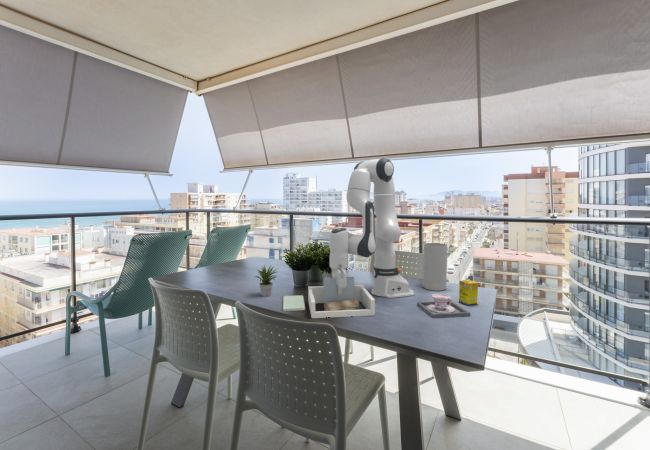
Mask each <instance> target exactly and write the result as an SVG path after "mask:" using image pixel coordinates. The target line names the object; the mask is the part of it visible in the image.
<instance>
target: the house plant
mask: <svg viewBox="0 0 650 450" xmlns="http://www.w3.org/2000/svg"><path fill="white" fill-rule="evenodd" d="M274 268H275V266H272V265H270V266H269V267H268V268H266V265H265V264H264V265H263V266H261V268H260V269H261V270H259V269H258V268H256V271H257V273H258V274H259V275H260V276H261V277H260V276H258V275H255V276H254V278H257V279H259V290H260V295H261V296H262V297H270V296H271V295H272V292H273V284H274V283H273V282H272V280H275V278H278V277H277V276H278V275H277V274H276V273H277V270H278V269H280V267H279V268H275V269H274ZM273 274H276V275H273ZM275 281H276V280H275Z"/></svg>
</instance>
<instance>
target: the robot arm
mask: <svg viewBox="0 0 650 450" xmlns="http://www.w3.org/2000/svg"><path fill="white" fill-rule="evenodd" d="M394 172H395V167H394V163H392V161H391V159H389V158H375V159H369V160H366V161H360V162H358V163H357V164H355V166H354V169H353V171H352V172H351V173H350V174H351V175H350V178H349V180H348V184H347V190H346V202H347V205H349V207H351V208H352V209H354V210H356V211H357V212H359V213H360V214H361V216H362V234H361V235H360V234H355V233H352V232H349V231H348V229H347V228H345V227H339V228H338V227H337V228H334V229H332V230H331V231H330V234H329V251H330V252H329V268H330V269H331V277H335V279H336V284H337V286H338V294H342V288H346V285H347V283H346V277H347V269H348V268H349V263H350V262H349V255H354V256H359V257H362V258H369V257H371V256H372V255H373V254H374V259H373V260H374V263H373V264H374V266H373V270H372V271H373V272H372V275H373V283H372V288H371V291H370V293H371V295H374V296H378V297H382V298H388V299H393V298H402V297H413V296H414V295H415V291H414V290H412V289H411V287H410V283H409V281H408V280H407V279H406V278H404V277H403V276H402V275H400V274H401V273H402V272H403V271H402V269H401V268H398V267H397V266H396V251H395V247H394V243H395V242H397V241H398V240H399V239H400V238H401V233H402V230H401V229H400V226H399V220H398V215H397V212H396V211H397V210H396V195H395V194H396V193H395V192H396V190H395V182H394V178H393V175H394ZM372 183H373V202H372V201H371V196H370V195H371V187H372V186H371V185H372ZM375 217H376V218H375ZM375 219H376V221H375Z"/></svg>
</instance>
